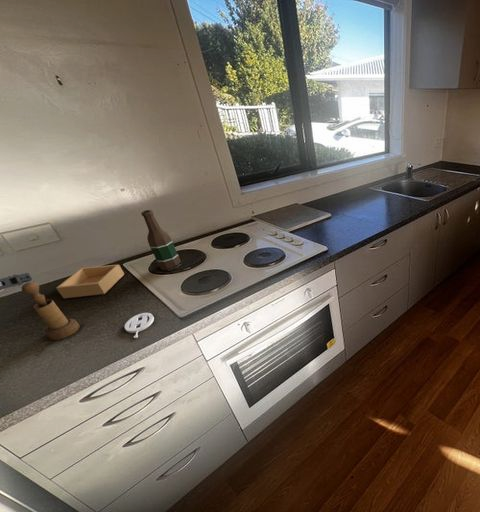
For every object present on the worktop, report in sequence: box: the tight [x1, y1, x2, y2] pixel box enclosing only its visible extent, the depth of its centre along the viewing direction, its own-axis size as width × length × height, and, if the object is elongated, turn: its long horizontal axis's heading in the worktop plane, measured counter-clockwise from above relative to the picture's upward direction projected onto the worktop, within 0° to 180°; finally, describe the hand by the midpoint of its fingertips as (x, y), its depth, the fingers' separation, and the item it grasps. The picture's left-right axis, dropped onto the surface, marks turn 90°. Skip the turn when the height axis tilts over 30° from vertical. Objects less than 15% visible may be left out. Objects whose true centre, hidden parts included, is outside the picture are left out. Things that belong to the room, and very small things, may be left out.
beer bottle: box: [140, 209, 182, 272], centre depth 112 cm, size 8×8×24 cm
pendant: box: [124, 312, 155, 339], centre depth 89 cm, size 7×11×1 cm, turn 29°
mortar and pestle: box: [21, 281, 81, 341], centre depth 82 cm, size 7×6×18 cm
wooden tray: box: [55, 264, 125, 299], centre depth 106 cm, size 13×13×5 cm
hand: (11, 280), depth 74 cm, fingers open, 8 cm apart
